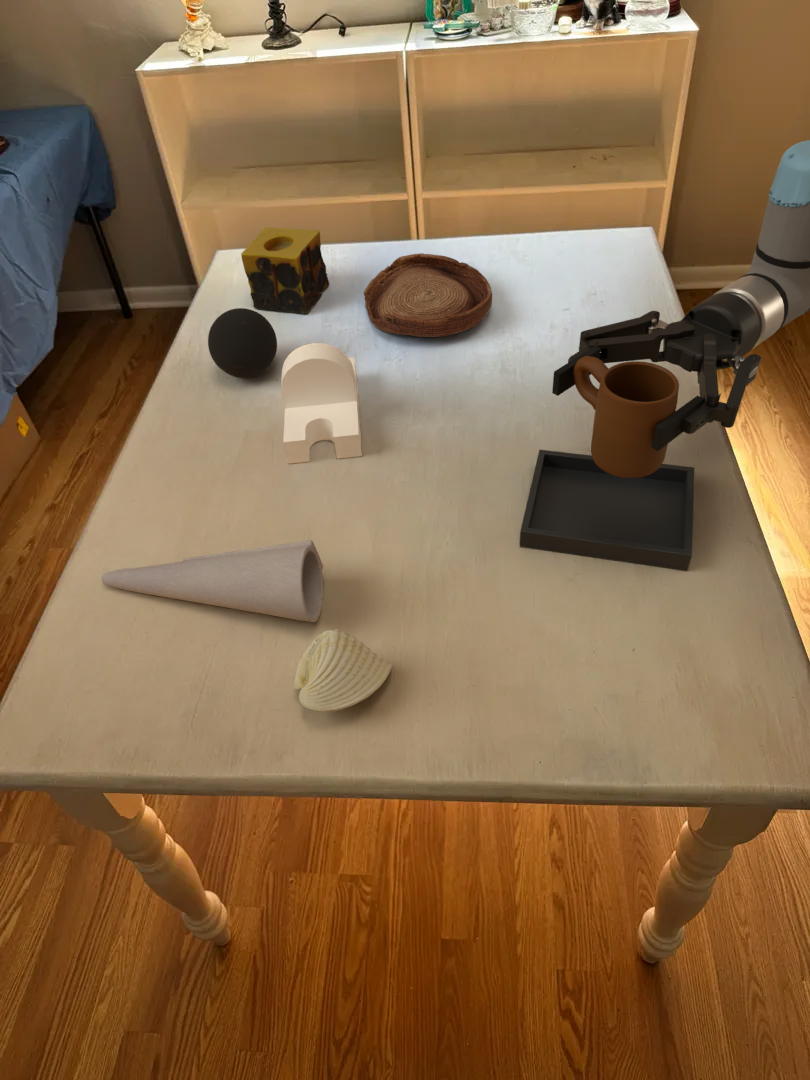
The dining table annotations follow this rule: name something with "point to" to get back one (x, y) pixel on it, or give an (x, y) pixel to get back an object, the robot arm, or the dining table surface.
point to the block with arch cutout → (320, 402)
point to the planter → (238, 580)
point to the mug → (627, 413)
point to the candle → (285, 270)
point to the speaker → (242, 343)
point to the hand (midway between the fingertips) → (603, 410)
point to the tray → (610, 512)
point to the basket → (427, 296)
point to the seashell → (338, 672)
